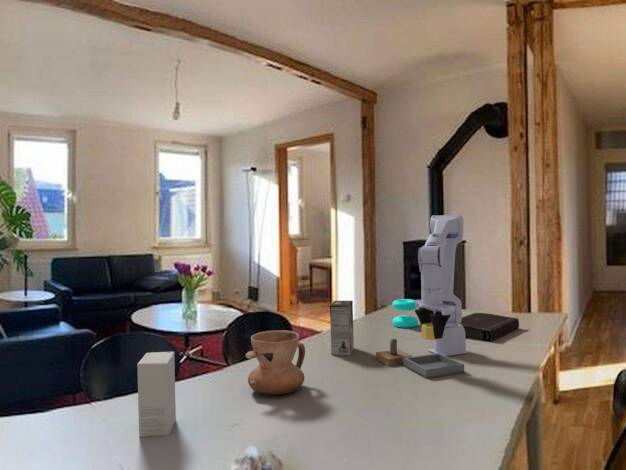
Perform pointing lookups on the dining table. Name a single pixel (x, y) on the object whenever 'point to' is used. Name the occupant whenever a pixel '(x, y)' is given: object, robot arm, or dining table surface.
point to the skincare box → (156, 394)
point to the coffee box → (341, 327)
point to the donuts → (405, 320)
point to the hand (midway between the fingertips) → (432, 335)
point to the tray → (433, 365)
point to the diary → (488, 326)
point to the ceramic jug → (276, 362)
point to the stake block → (392, 355)
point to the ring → (428, 331)
